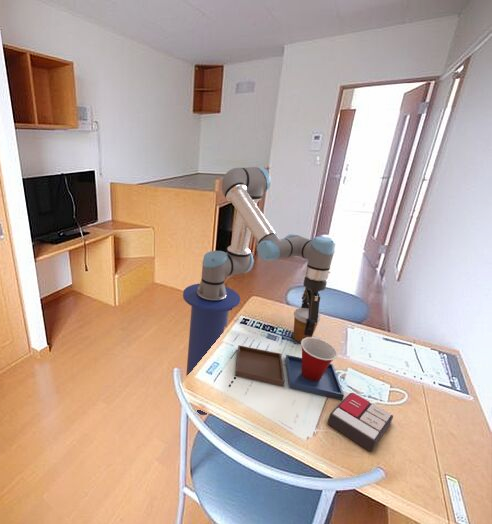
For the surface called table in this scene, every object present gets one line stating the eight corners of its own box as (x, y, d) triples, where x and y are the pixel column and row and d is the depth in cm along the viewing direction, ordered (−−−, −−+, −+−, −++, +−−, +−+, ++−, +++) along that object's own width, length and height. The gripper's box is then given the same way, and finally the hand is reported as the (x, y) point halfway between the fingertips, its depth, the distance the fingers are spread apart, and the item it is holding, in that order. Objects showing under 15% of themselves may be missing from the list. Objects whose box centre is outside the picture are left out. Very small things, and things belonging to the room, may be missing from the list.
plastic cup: (310, 390, 98) (318, 360, 93) (287, 368, 107) (293, 339, 103) (337, 384, 100) (346, 354, 96) (312, 363, 110) (319, 335, 106)
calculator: (394, 413, 86) (376, 440, 77) (390, 425, 87) (371, 452, 79) (351, 390, 94) (330, 411, 85) (347, 401, 95) (326, 423, 87)
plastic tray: (285, 359, 113) (286, 354, 112) (331, 368, 108) (332, 363, 108) (289, 388, 100) (290, 382, 99) (342, 400, 95) (344, 394, 94)
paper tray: (237, 349, 118) (238, 345, 117) (279, 358, 113) (280, 353, 113) (235, 375, 105) (236, 370, 104) (283, 386, 100) (284, 381, 99)
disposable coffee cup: (283, 334, 128) (289, 309, 124) (302, 330, 131) (307, 306, 126) (301, 347, 120) (307, 321, 115) (320, 343, 122) (326, 317, 118)
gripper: (335, 292, 103) (321, 345, 110) (320, 267, 125) (310, 312, 133) (310, 289, 105) (299, 341, 113) (300, 265, 127) (291, 310, 135)
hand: (305, 326), depth 123 cm, fingers open, 13 cm apart
